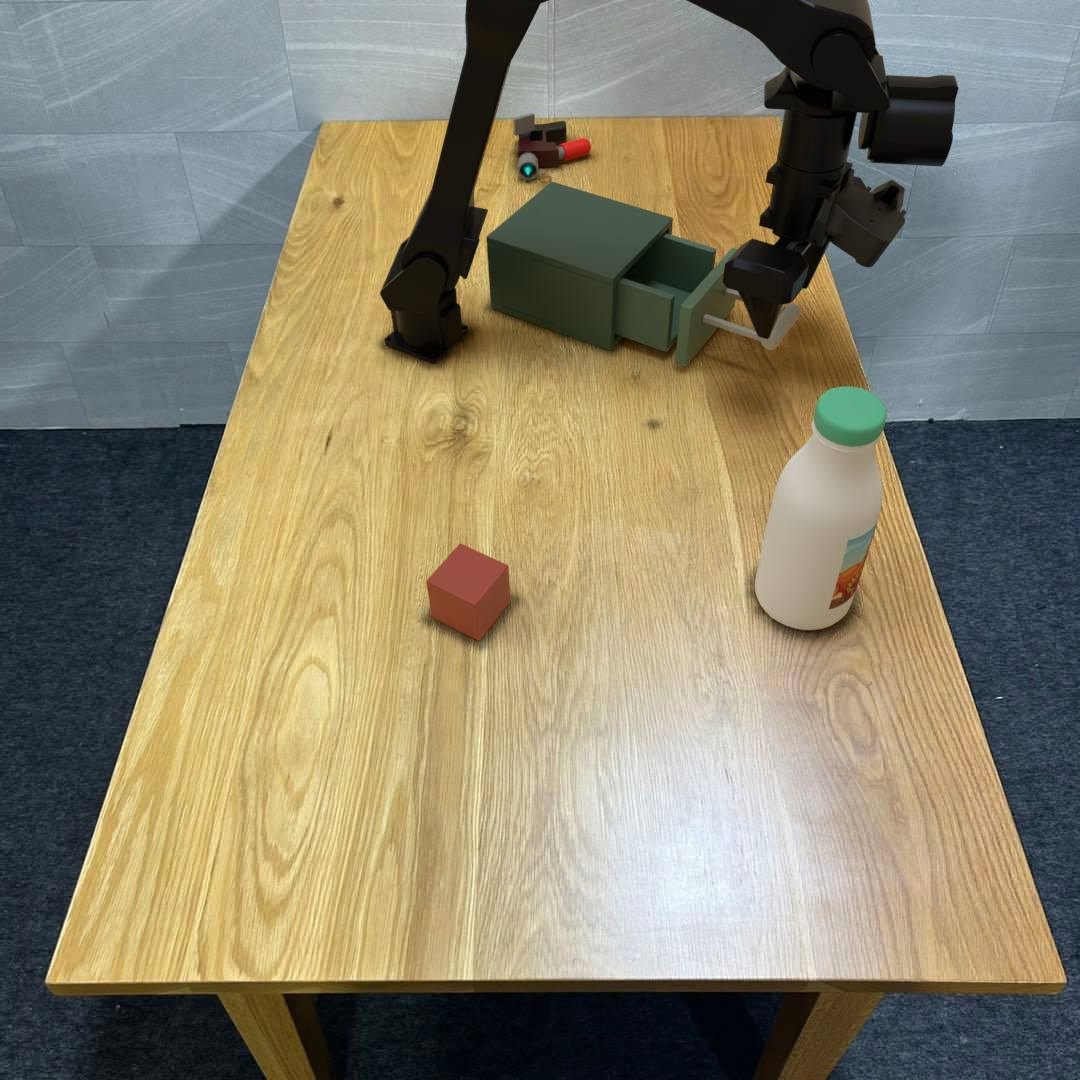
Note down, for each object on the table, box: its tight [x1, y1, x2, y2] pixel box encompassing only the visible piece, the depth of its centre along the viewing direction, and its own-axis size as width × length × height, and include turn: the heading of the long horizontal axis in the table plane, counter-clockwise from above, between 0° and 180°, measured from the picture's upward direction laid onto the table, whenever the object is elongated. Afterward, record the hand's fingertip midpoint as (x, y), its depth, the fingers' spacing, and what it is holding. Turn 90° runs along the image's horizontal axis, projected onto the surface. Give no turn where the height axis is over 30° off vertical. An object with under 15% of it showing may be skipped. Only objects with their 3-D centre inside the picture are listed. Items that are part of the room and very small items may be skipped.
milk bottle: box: [754, 385, 888, 631], centre depth 76 cm, size 8×8×20 cm
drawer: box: [614, 233, 802, 367], centre depth 103 cm, size 21×11×7 cm, turn 58°
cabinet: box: [485, 181, 674, 352], centre depth 108 cm, size 15×13×9 cm
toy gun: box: [512, 112, 592, 181], centre depth 129 cm, size 10×12×5 cm
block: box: [425, 542, 512, 642], centre depth 81 cm, size 5×5×5 cm
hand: (783, 311), depth 98 cm, fingers open, 9 cm apart
